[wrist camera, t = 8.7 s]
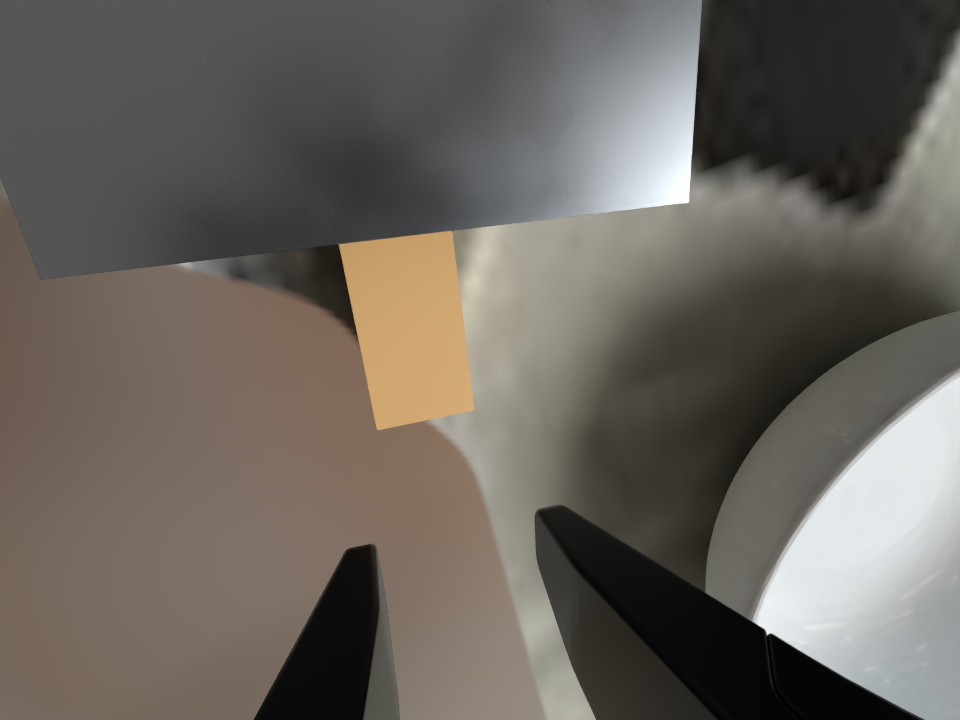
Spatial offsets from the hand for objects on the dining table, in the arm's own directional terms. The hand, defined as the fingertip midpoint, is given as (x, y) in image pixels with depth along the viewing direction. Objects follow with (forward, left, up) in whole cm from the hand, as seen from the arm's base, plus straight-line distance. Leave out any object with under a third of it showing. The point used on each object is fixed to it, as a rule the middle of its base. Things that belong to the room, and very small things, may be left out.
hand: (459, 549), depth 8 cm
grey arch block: (0, -7, -12) cm, 14 cm away
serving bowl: (-20, +12, -12) cm, 26 cm away
